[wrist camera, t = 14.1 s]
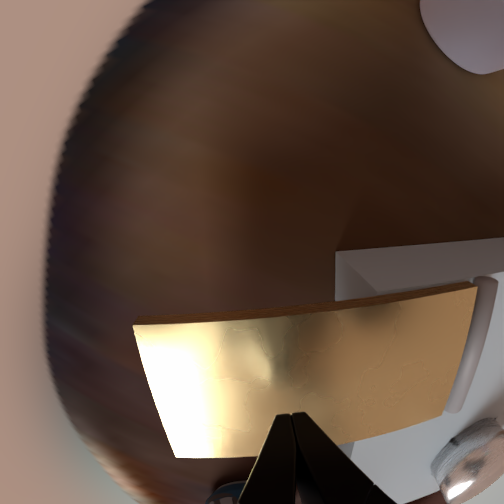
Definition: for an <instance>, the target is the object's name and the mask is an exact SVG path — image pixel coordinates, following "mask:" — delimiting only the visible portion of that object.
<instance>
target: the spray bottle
mask: <svg viewBox="0 0 504 504" xmlns="http://www.w3.org/2000/svg"><path fill="white" fill-rule="evenodd" d="M420 12H421V16H422V19H423V22H424V24H425V27H426V29H427V31H428V32H429V34H430V36H431V37H432V39H433V40H434V42H435V43H436V44H437V46H438V47H439V48H440V49H441V50H442V52H443V53H444V54H445V55H446V56H447V57H448V58H450V59H451V60H452V61H453V62H454V63H456V64H457V65H458V66H460V67H461V68H463V69H465V70H467V71H469V72H472V73H476V74H488V73H492V72H495V71H498V70H502V69H504V0H420Z"/></svg>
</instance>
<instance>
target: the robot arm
mask: <svg viewBox="0 0 504 504" xmlns="http://www.w3.org/2000/svg"><path fill="white" fill-rule="evenodd" d="M296 482H297V486H298V490H299V494H300V498H301V501H302V504H397V503H396V502H395V501H394V500H392V499H391V498H390V497H389V496H388V495H387V494H386V493H384V492H383V491H382V490H381V489H380V488H379V487H378V486H377V485H376V484H375V485H374V482H373V481H372V480H371V479H370V478H369V477H368V476H367V475H366V474H365V473H364V472H363V471H362V470H361V469H360V468H359V467H358V466H357V465H356V464H355V463H354V462H353V461H352V460H351V459H350V458H349V457H348V456H347V455H346V454H345V453H344V452H343V451H342V450H341V449H340V448H339V447H338V446H337V445H336V444H335V443H334V442H333V441H332V440H331V439H330V438H329V437H328V435H327V434H326V433H325V432H324V431H323V430H322V429H321V428H320V427H319V426H318V425H317V424H316V423H315V422H314V420H313V419H312V418H311V417H310V416H309V415H308V414H307V413H306V412H295V413H292V414H291V415H290V414H289V413H286V414H277V415H276V416H275V417H274V420H273V422H272V425H271V427H270V430H269V432H268V435H267V437H266V439H265V442H264V444H263V446H262V449H261V451H260V453H259V456H258V458H257V460H256V463H255V465H254V467H253V469H252V471H251V474H250V476H249V478H248V480H247V482H246V485H245V487H244V489H243V491H242V493H241V495H240V497H239V499H238V501H237V503H238V504H295V492H296Z"/></svg>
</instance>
